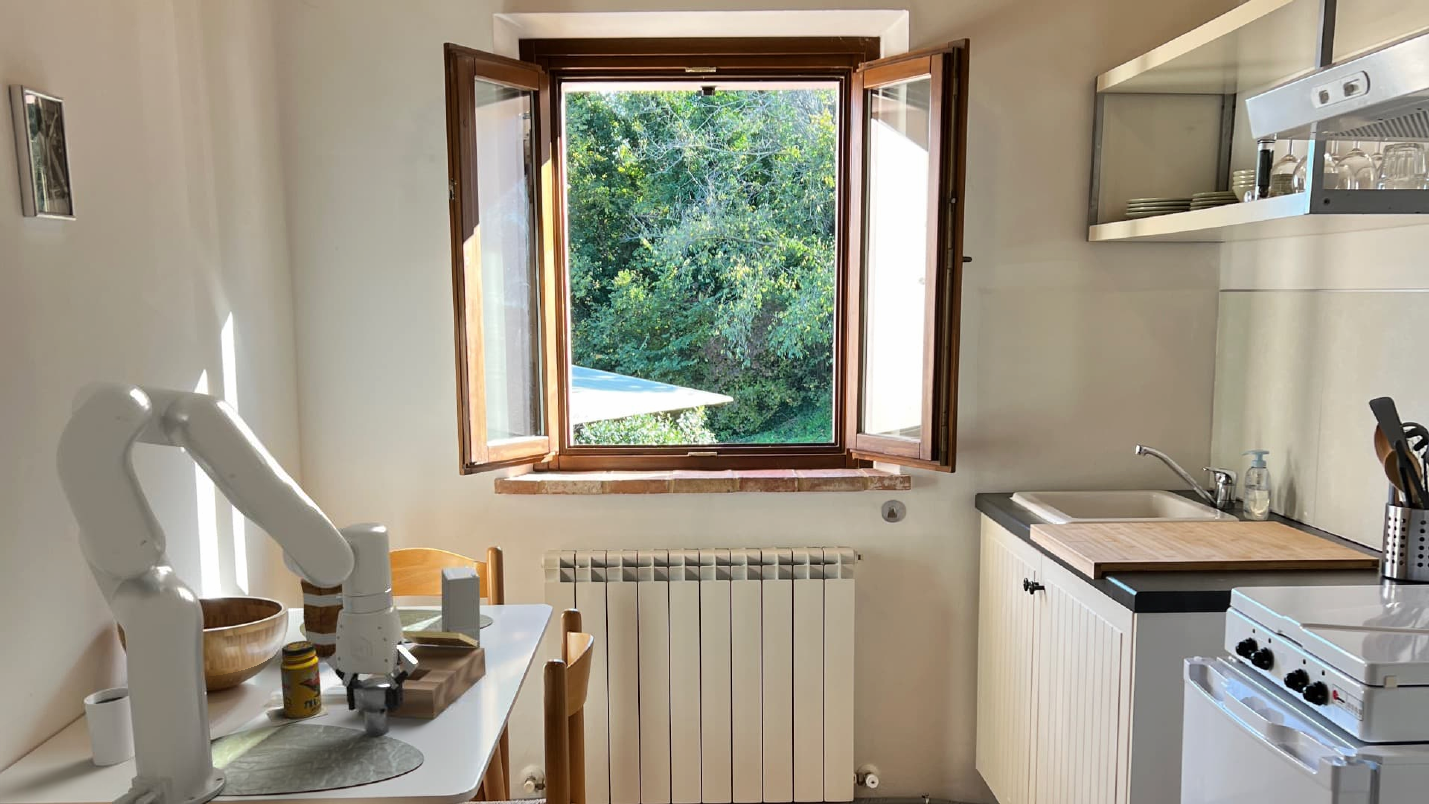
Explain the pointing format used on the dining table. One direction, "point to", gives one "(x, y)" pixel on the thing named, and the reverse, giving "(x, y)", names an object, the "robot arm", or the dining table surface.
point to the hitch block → (438, 679)
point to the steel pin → (373, 704)
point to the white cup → (110, 726)
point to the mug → (321, 616)
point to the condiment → (299, 684)
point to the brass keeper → (440, 638)
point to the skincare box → (461, 602)
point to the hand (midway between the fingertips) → (375, 707)
